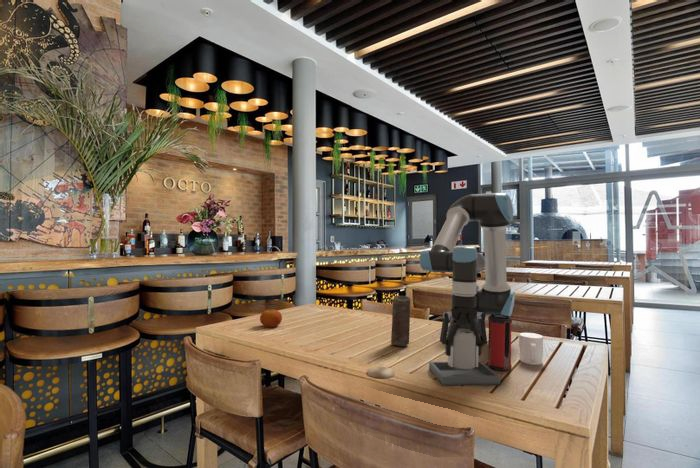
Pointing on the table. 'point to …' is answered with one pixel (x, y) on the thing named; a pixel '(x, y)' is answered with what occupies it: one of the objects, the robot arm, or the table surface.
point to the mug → (531, 348)
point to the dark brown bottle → (400, 321)
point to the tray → (463, 375)
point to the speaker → (499, 342)
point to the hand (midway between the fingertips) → (463, 365)
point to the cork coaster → (381, 372)
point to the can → (464, 350)
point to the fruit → (271, 318)
